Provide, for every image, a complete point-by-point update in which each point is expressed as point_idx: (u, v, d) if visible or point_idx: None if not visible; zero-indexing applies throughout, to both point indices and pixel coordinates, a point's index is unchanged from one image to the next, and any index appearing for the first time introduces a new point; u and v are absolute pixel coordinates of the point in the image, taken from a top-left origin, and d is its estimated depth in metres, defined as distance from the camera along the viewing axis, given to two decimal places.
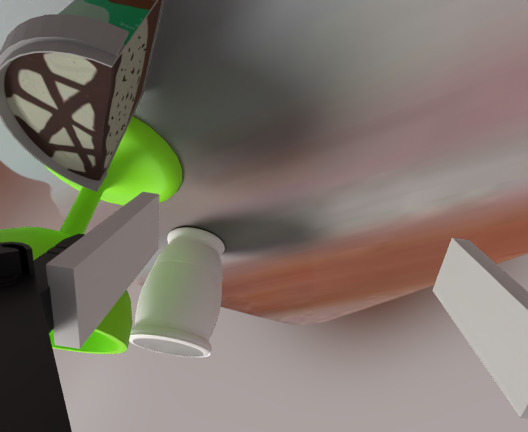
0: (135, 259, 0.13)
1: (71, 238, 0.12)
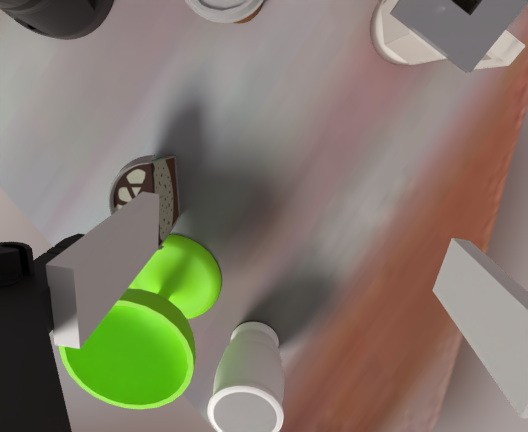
0: (135, 259, 0.13)
1: (70, 238, 0.12)
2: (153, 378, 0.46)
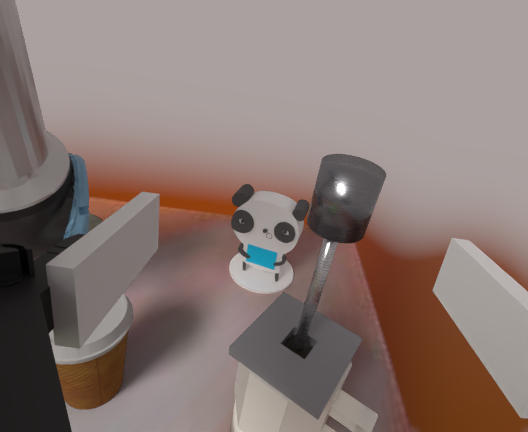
0: (135, 259, 0.13)
1: (70, 238, 0.12)
2: None
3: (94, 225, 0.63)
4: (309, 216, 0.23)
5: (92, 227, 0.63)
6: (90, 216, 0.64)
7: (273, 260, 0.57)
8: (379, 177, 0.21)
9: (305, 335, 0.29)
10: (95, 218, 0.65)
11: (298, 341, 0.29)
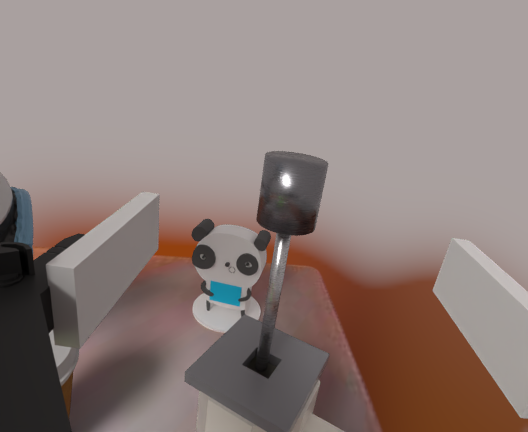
0: (135, 259, 0.13)
1: (70, 238, 0.12)
2: None
3: None
4: (258, 213, 0.23)
5: None
6: None
7: (237, 296, 0.55)
8: (321, 165, 0.21)
9: (267, 351, 0.27)
10: None
11: (260, 359, 0.27)
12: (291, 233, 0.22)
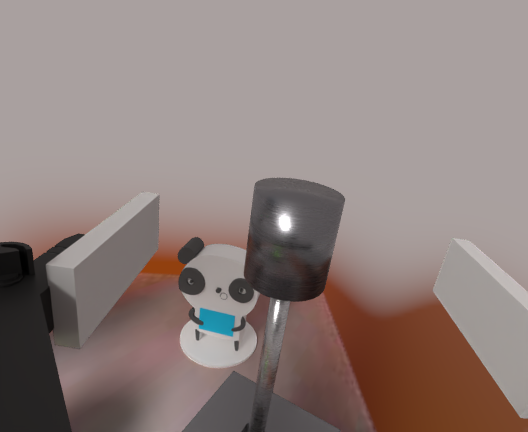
0: (135, 259, 0.13)
1: (71, 238, 0.12)
2: None
3: None
4: (245, 265, 0.16)
5: None
6: None
7: (230, 325, 0.48)
8: (335, 202, 0.15)
9: None
10: None
11: None
12: (292, 299, 0.15)
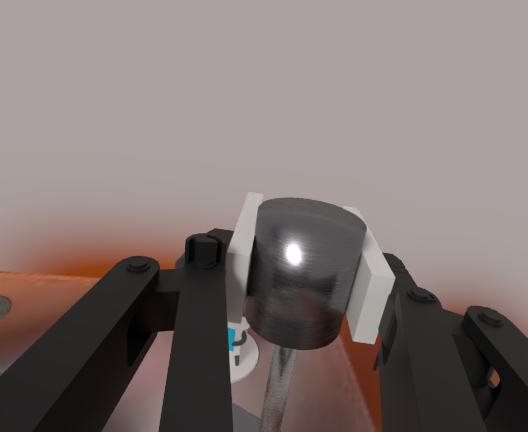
0: None
1: (212, 232, 0.14)
2: None
3: None
4: (246, 303, 0.14)
5: None
6: None
7: (231, 339, 0.46)
8: (356, 231, 0.12)
9: None
10: None
11: None
12: (302, 347, 0.12)
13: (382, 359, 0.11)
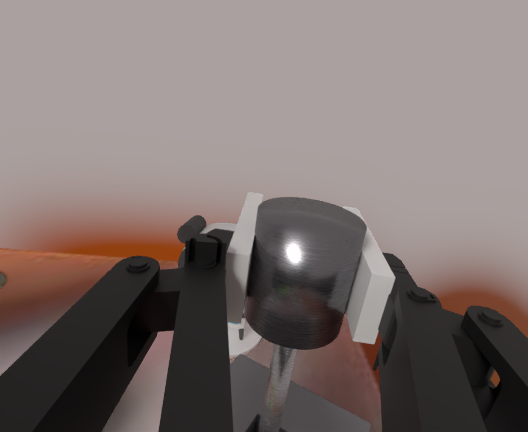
0: None
1: (212, 232, 0.14)
2: None
3: None
4: (246, 302, 0.14)
5: None
6: None
7: None
8: (356, 231, 0.12)
9: None
10: None
11: None
12: (302, 346, 0.12)
13: (382, 359, 0.11)
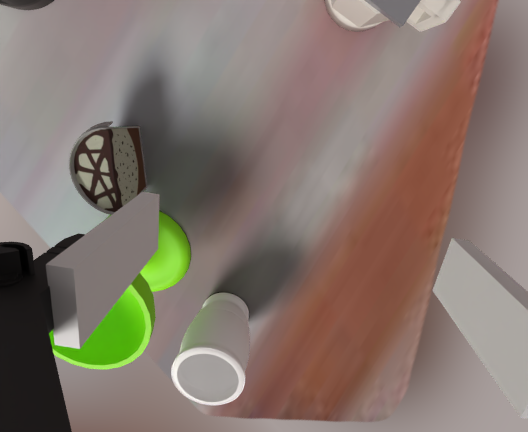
0: (135, 259, 0.13)
1: (70, 238, 0.12)
2: (117, 341, 0.47)
3: None
4: None
5: None
6: None
7: None
8: None
9: None
10: None
11: None
12: None
13: None
